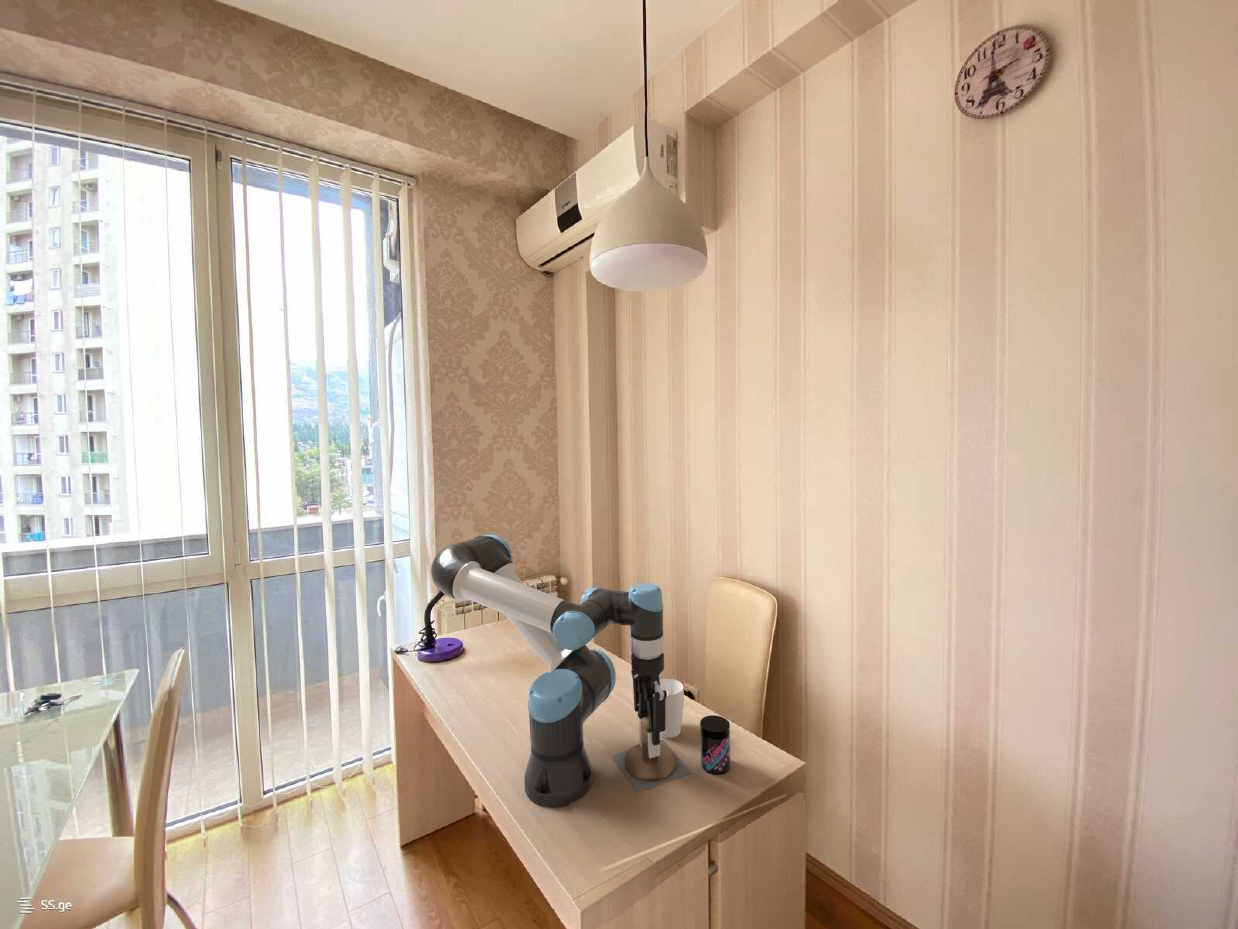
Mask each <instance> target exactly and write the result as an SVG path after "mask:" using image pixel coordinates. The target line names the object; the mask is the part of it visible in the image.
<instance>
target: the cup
mask: <svg viewBox="0 0 1238 929" xmlns="http://www.w3.org/2000/svg"><path fill="white" fill-rule="evenodd" d="M659 680H660V688H661V690H662V691H663V690H666V692H667V697H666V707H665V731H662V732H660V738H663V739H664V738H665V739H672V738H676V737H678V736H679V735H680V733H681V730H682V729H681V728H682V721H683V714H684V712H683V711H684V706H685V705H684V704H685V693H684V691H685V690H684V684H683V683H681V681H679V680H677V679H673V678H659Z"/></svg>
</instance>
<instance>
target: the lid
mask: <svg viewBox="0 0 1238 929" xmlns="http://www.w3.org/2000/svg"><path fill="white" fill-rule="evenodd" d="M649 728H650V727H649V717H648V716H645V717H643V718H642V748H641V747H640V743H638V744H636V745H634V746H632V747H631V748H629V749H628V751H627V750H626V751H627V753H626V755H625V768H626V770H627V772H628V773H629V774H630V775H631V776H633V777H635V778H637V779H639V780H643V781H659V780H663V779H665V778H667V777H669V776H670V775H672V774H673V772H674V771H675V769H676V756H675V754H676V753H675V751H674V750H673V749H672V748H671V747H670V748H671V749H672V750H673V751H674V752H673V751H672V750H671V749H670V748H668V747H667V746H664V745H662V744H660V755H659V756H656V757H653V758H649V757H648V732H647V729H649ZM674 753H675V754H674Z"/></svg>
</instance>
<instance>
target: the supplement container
mask: <svg viewBox="0 0 1238 929" xmlns="http://www.w3.org/2000/svg"><path fill="white" fill-rule="evenodd" d="M699 726H700V727H699V731H700V763H701V764H700V765H701V767H702V769H703V771H705V772H706V773H708V774H710V775H716V776H721V775H725V774H727V773H728V772H729V771H730V769H731V724H730V721H729V720H728V719H726V718H725V717H723V716H720V715H712V714H711V715H707V716H704V717H702V718H701V720H700V721H699Z"/></svg>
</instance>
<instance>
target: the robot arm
mask: <svg viewBox="0 0 1238 929" xmlns="http://www.w3.org/2000/svg"><path fill="white" fill-rule="evenodd" d="M512 551H513V550H512V549H511V546H510V545H509V543H508V542H507V541H506V540H505V539H503V537H500V536H498V535H496V534H485V535H484V534H483V535H477V536H475V537H473V538H471V539H467V540H464V541H461V542H460V541H459V542H456V543H453V544H449V545H447V546H445V547H443V548H442V549H440V551H438V552H437V553H436V555H435V557H434V558H433V560H432V563H431V570H430V573H431V578H432V581H433V583H434V585H435V586H436V588H437V589H438V590H439V591H440V592H442V594H444V595H446V596H447V597H449V598H452V599H455V600H457V601H459V602H464V601H467V600H468V601H471V602H475V603H476V604H478V605H481V606H484V607H486V608H489V609H492V610H494V611H496V612H499V613H501V614H503V615H504V616H505V617H506V619H508V620H509V621H510V623H511V624H512V625H513V626H514V627H515V629H516V630H517V632H519V633H520V635H521V636H522V637H523V638H524V639H525V641H526V642H527V643H528V644H529V646H530V647H531V648H532V649H533V650H534V651H535V652H536V653H537V655H538V656H539V657H540V659H542V661H543V662H544V663H545V665H547V667H548V671H546V672H544V673H542V674H541V675H540V676H538V677H537V678H536V679H535V680H534V681H533V682H532V683H531V686H530V687H529V690H528V691H529V692H528V702H527V707H528V715H529V735H530V737H529V739H530V755H529V758H528V761H527V765H526V769H525V772H524V777H523V779H524V780H523V781H524V783H523V784H524V792H525V794H526V796H527V798H528V799H529V800H531V802H533V803H534V804H537V805H538V806H543V807H548V808H558V807H566V806H568V805H569V806H570V805H571V804H573V803H575V802H577V801H578V800H580V799H583V797H584V796H586V794H587V793H588V792H589V791H590V789H591V787H592V785H593V780H594V778H593V777H594V776H593V775H594V774H593V766H592V764H591V761H590V759H589V756H588V753H587V751H586V748H585V746H584V745H585V744H584V724H585V722H586V720H588V718H589V717H590V716H591V715H592V714H593V713H594V712H595V711H596V710H597V709H598V708H599V707H600V706H601V705H602V704H603V703H604V702H605V701H606V700H607V699H608V698H609V696H610V694H611V693H612V692H613V690H614V688H615V686H616V683H617V682H616V680H617V679H616V668H615V665H614V663H613V661H612V659H611V658H610V656H608V655H607V653H605V652H604V651H601V650H599V649H598V650H597V649H590V648H589V647H588V646H587V644H589V643H590V642H591V641H592V640H593V639H594V638H595V637H596V636H597V635H598V634H600V633H601V632H602V631H604V630H605V629H606V628H608V627H609V626H610V625H612V624H614V625H621V626H628V627H629V628H630V629H629V630H630V635H629V636H630V652H631V654H630V655H631V656H630V659H631V662H630V664H631V677H632V689H633V690H632V691H633V707H634V708H633V709H634V712H636V713H637V718H638V719H639V724H638V725H639V744H640V747H641V748H642V718H643V717H645V716H648V717H649V727H650V728H649V729H647V732H648V757H649V758H653V757H656V756H659V755H660V740H661V737H660V732H662V731H665V707H666V697H667V692H666V690H663V691H662V690H661V688H660V680H659V679H660V675H661V673H662V672H663V671H664V670H665V654H664V650H665V649H664V646H665V645H664V639H665V635H664V602H663V592H662V589H661V587H660V586H659V585H657V584H655V583H650V582H645V583H643V582H641V583H639V582H638V583H635V584H633V585H631V586H630V587H629V591H622V590H613V589H607V588H604V587H597V588H596V587H590V588H589V587H588V588H587V589H585V591H584V593H583V594H582V596H581V597H580V603H579V604H577V603H574V602H571V601H569V600H565V599H563V598H560V597H557V596H555V595H552V594H550V593H547V592H544V591H542V590H539V589H536V588H534V587H531V586H528V585H526V584H525V583H524V582H523V581H522V580H521V578H520V577H518V576H517V575H516V573H515V572H516V564H515V563H514V562H513V554H512Z"/></svg>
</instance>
